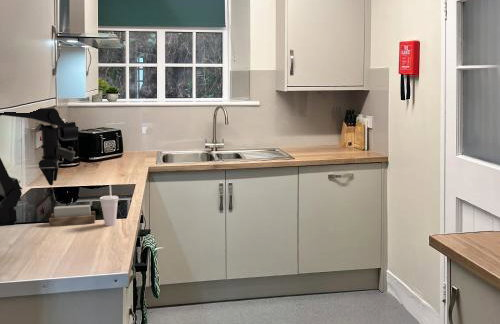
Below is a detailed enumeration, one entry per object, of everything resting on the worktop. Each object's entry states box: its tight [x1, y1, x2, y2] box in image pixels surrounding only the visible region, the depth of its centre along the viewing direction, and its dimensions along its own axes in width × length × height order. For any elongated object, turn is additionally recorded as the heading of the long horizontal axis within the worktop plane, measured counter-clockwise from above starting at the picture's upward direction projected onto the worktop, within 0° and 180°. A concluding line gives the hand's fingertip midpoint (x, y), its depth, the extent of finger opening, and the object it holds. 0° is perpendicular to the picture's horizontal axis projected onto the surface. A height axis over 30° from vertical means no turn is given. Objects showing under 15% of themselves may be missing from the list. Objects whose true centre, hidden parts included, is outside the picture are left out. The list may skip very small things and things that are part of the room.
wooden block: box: [48, 210, 96, 227], centre depth 191 cm, size 15×7×3 cm, turn 103°
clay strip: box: [53, 204, 91, 218], centre depth 190 cm, size 12×3×5 cm, turn 103°
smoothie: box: [99, 184, 120, 227], centre depth 186 cm, size 6×6×14 cm
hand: (53, 182), depth 201 cm, fingers open, 9 cm apart
